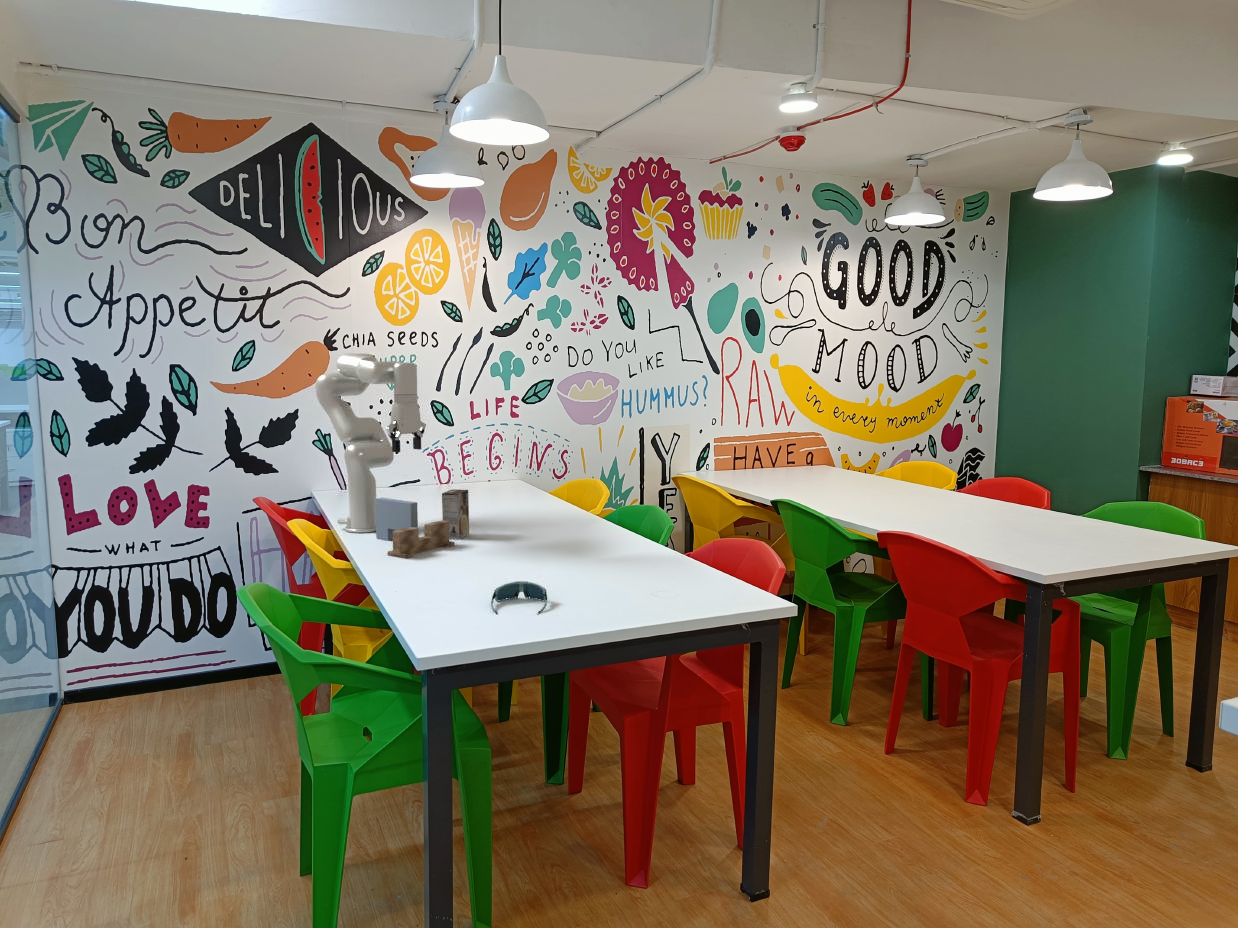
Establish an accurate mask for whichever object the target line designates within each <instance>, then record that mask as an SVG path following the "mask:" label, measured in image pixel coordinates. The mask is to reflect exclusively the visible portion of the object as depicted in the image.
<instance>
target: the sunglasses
mask: <svg viewBox="0 0 1238 928" xmlns="http://www.w3.org/2000/svg"><path fill="white" fill-rule="evenodd" d="M520 593H523V594H524V597H525V599H529V597H530V599H531V598H537V599H536V600H538V599H541V600H540V601H542V600H544V601H543V602H544V605H543V606H542V608H540V609H539V610H538V612H537V613H539V614H541V613H542V612H543V611H544V610H545V609H546V607H547V606H548V605H547V604H548V594H547V589H546V587H543V586H542V585H540V584H538V583H535V582H531V581H527V580H526V581H524V580H520V581H519V580H518V581H517V580H516V581H512V582H507V583H504V584H503V585H500V586H498V587H496V588H495V589H494V591H493V594H492V596H491V597H492V598H491V601H490V607H491V610H492V612H493V613H494V612H495V613H494V614H496V615H497V614H498V611H497V610H496V609H495V608H494V600H495V601H496V602H499V601H498V600H501V601H503V600H502V599H505V600H507V599H506V598H514V599H518V598H519V595H520ZM541 611H542V612H541ZM540 612H541V613H540Z"/></svg>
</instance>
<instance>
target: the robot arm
mask: <svg viewBox="0 0 1238 928" xmlns="http://www.w3.org/2000/svg"><path fill="white" fill-rule="evenodd" d="M335 366H336V369H337V371H338V372H330V373H324V374H321V375H320V376H319V377H317V379H316V381H315V394H316V398H317V400H318V403H319V405H320V406H321V407H322V409H323V410H324V412H325V413H326V414H327V416H328V418H329V419H330V422H331V424H332V426H333V429H335V432H336V435H337V437H338V438H339V440H340V441H341V442H342V444H344V445H348V446H346V448H345V450H344V454H343V456H344V461H345V467H346V471H347V481H348V483H347V484H348V485H347V486H348V487H347V488H348V510H349V511H348V512H349V514H348V516H349V517H346V518H337V524H338V525H346V526H345V527H344V529H345V531H346V532H348V533H358V534H359V533H361V534H362V533H363V534H364V533H372V532H373V533H374V532H376V508H375V499H376V498H377V482H376V478H375V476H374V474H373V473H372V471H371V470H370V469H374V468H384V467H387V466H390V465H391V464H392V463H393V462H394V457H395V455H394V453H401V440H399V439H400V438H401V436H402V435H407V434H409V435H410V434H412V435H413V437H412V448H413V449H414V450H422V438H423V437H424V435H423V434H425V429H426V427H427V424H426V423H425V422H423V421H422V420H421V419H422V418H421V412H420V411H421V410H420V406H419V403H418V399H419V396H418V367H417V364H416V363H414V362H409V361H408V362H403V361H398V360H397V361H390V360H388V361H384V360H383V361H380V360H379V361H378V360H377V358H376V357H375V355H373V354H371V353H350V352H349V353H345V354H343V355H340V356H339V358H338V359H337V361H336V365H335ZM370 384H372V385H380V384H381V385H383V384H384V385H387V384H389V385H390V384H391V385H393V399H394V400H393V402H394V403H392V404H391V405H392V406H391V411H390V424H389V425H387V426H386V427H385V430H384V428H383V427H382V425H381V423H380V421H378V420H377V419H376V418H373V417H358V416H357V415H356V414H355V413H354V412H355V411H353V408H352V407H351V406H350V404H349V403H348V402H346V401H345V400H344V399H342V398H341V397H346V396H347V397H351V396H353V397H354V396H359V395H362V394H363V393H364V392H365V391H366V390H367V389H368V387H369V385H370ZM385 431H386V432H387V435H386V432H385ZM387 436H388V437H389V438H388V437H387ZM389 439H390V440H391V442H390V441H389Z"/></svg>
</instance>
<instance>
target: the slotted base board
mask: <svg viewBox="0 0 1238 928" xmlns="http://www.w3.org/2000/svg"><path fill="white" fill-rule="evenodd" d="M419 529H420V528H419V527H418V528H415V527H410V528H405V529H401V530H394V531H392V533H393V540H392V550H388V551H387V556H389V557H390V556H391V557H395V558H400V559H404V560H407V559H410V558H413V555H415V554H419V553H422V552H426V551H430V550H434V549H438V548H442V547H444V548H451V547H455V545H456V543H455V541H452V540H451V541H450V539H449V521H444V520H443V519H441V520H436V521H433V522H428V523H424V536H419V534H420V533H419V531H420V530H419Z"/></svg>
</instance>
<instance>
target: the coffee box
mask: <svg viewBox="0 0 1238 928" xmlns="http://www.w3.org/2000/svg"><path fill="white" fill-rule="evenodd" d="M441 501H442V502H441V504H442V505H441V507H442V508H441V509H442V512H441V513H442V520H444V521H449V540H461V539H463V538H464V537H467V536H468V535H470V511H469V510H470V509H469V506H470V505H469V489H456V488H455V489H454V488H453V489H450V490H447V491H445V492H442V493H441Z"/></svg>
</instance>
